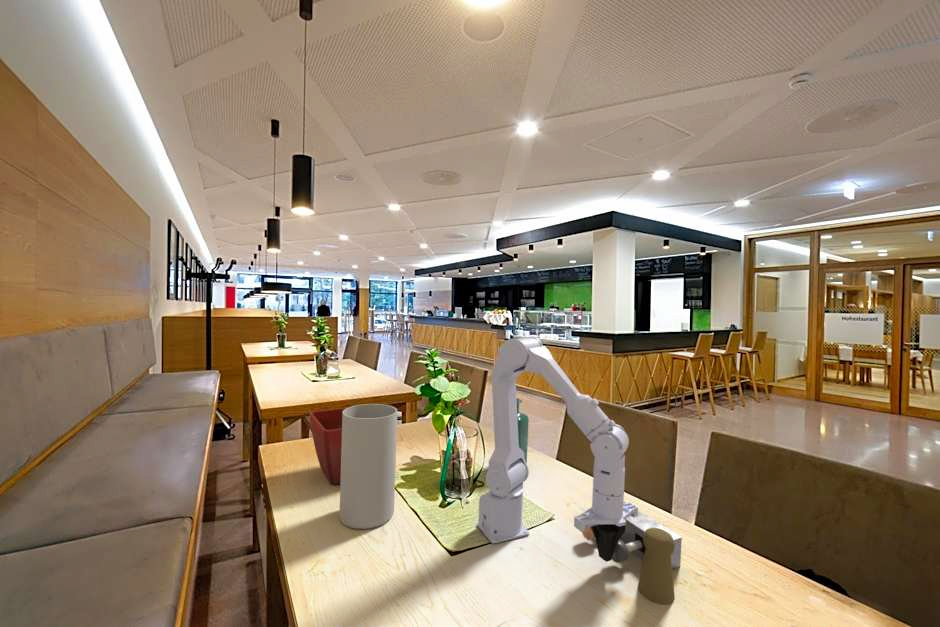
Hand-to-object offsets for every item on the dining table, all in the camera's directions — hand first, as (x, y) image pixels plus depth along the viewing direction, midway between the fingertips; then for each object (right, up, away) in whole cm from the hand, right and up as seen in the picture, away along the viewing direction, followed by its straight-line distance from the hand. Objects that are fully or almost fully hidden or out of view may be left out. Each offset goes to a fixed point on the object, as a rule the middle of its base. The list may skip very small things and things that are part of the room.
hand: (605, 558), depth 76 cm
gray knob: (+5, -1, +2) cm, 6 cm away
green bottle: (-14, -1, +46) cm, 49 cm away
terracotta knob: (+2, -1, +10) cm, 10 cm away
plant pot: (-62, +1, +39) cm, 73 cm away
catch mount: (+9, -3, +9) cm, 13 cm away
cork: (+7, -3, -5) cm, 10 cm away
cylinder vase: (-51, 0, +16) cm, 53 cm away
